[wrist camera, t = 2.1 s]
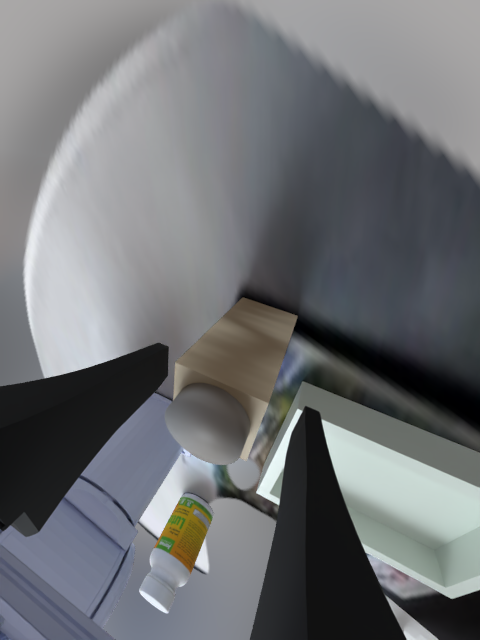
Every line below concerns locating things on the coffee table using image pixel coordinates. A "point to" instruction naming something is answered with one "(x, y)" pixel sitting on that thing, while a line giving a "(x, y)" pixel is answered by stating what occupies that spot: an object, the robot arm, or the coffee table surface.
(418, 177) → the coffee table surface
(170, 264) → the coffee table surface
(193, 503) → the supplement bottle
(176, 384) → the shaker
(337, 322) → the coffee table surface
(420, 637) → the heart sculpture
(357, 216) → the coffee table surface
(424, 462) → the tray
